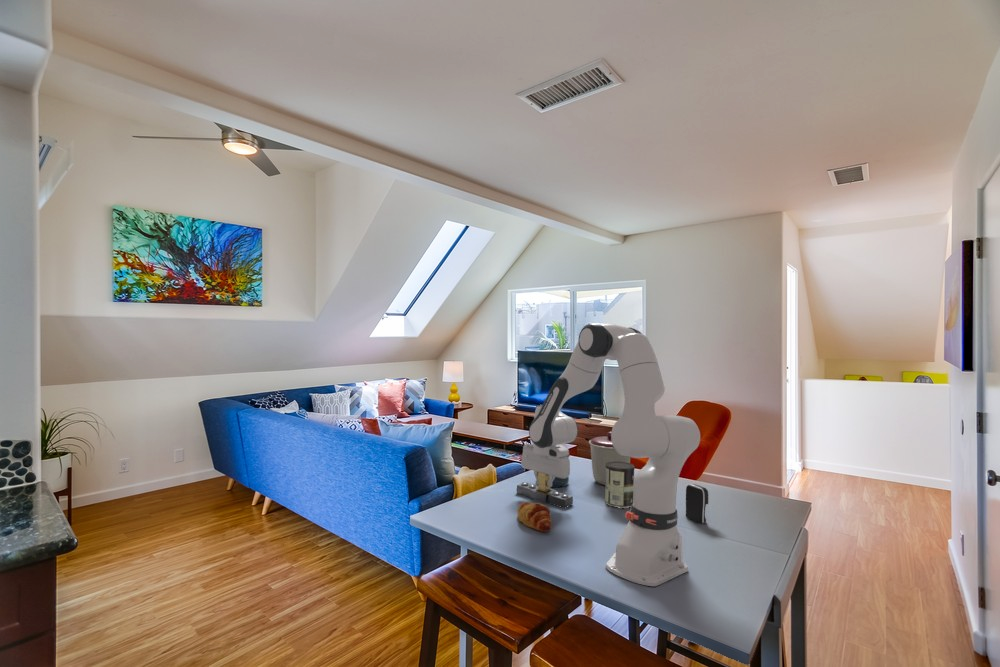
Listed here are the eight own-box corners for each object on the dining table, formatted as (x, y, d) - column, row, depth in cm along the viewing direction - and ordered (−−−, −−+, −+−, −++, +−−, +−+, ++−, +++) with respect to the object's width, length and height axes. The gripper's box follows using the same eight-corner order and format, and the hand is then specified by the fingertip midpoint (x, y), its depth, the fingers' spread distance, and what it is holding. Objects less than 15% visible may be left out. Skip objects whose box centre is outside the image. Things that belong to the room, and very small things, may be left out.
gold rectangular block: (544, 496, 174) (545, 472, 174) (537, 494, 176) (538, 470, 176) (550, 494, 176) (550, 470, 176) (543, 492, 178) (543, 468, 178)
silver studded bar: (562, 509, 166) (563, 498, 166) (515, 493, 181) (515, 484, 181) (574, 504, 171) (574, 494, 171) (526, 489, 186) (526, 480, 186)
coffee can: (629, 499, 178) (630, 461, 178) (637, 509, 168) (638, 469, 168) (602, 498, 178) (602, 460, 178) (607, 508, 168) (608, 468, 168)
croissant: (513, 522, 162) (503, 502, 161) (537, 505, 166) (528, 486, 165) (541, 547, 143) (530, 524, 141) (567, 527, 146) (556, 505, 145)
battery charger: (709, 523, 157) (710, 488, 157) (701, 524, 155) (702, 489, 155) (692, 515, 163) (693, 482, 163) (684, 517, 161) (685, 483, 162)
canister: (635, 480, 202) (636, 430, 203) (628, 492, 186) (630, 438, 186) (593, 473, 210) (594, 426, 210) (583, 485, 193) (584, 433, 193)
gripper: (518, 443, 181) (517, 480, 181) (562, 454, 167) (561, 493, 167) (528, 441, 186) (527, 477, 186) (572, 451, 172) (571, 489, 172)
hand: (544, 484), depth 176 cm, fingers closed on gold rectangular block, 3 cm apart
